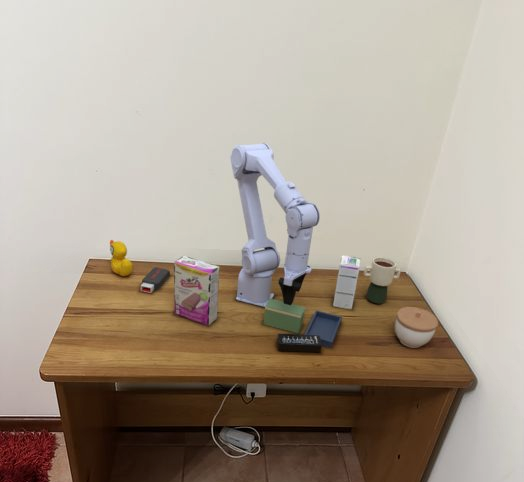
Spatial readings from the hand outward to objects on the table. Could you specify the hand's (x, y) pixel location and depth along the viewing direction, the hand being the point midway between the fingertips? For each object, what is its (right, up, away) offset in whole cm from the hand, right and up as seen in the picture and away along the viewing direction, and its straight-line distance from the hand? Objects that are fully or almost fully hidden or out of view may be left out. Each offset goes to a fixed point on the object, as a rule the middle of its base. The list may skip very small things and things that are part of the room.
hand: (291, 297), depth 130 cm
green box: (-2, -8, +4) cm, 9 cm away
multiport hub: (+2, -13, -4) cm, 14 cm away
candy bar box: (-26, -6, +4) cm, 27 cm away
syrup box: (+16, -2, +17) cm, 24 cm away
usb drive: (-40, +4, +18) cm, 44 cm away
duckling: (-51, +7, +21) cm, 56 cm away
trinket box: (+32, -12, +3) cm, 35 cm away
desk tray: (+9, -9, +3) cm, 13 cm away
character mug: (+27, -1, +21) cm, 34 cm away
